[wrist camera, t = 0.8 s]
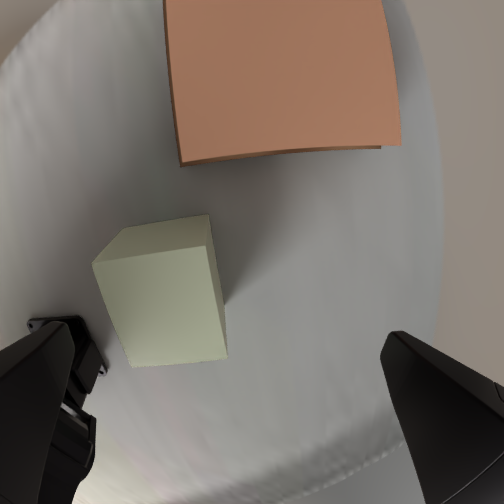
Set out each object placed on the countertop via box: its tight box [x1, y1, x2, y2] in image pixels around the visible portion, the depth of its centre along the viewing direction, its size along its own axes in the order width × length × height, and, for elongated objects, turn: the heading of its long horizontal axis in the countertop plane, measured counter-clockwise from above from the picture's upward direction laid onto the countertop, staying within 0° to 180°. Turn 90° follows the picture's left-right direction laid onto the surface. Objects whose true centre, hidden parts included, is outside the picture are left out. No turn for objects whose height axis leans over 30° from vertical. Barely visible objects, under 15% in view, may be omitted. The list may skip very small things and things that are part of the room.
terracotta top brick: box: [166, 0, 401, 162], centre depth 12 cm, size 11×11×3 cm
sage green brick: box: [91, 214, 228, 367], centre depth 18 cm, size 6×7×6 cm
